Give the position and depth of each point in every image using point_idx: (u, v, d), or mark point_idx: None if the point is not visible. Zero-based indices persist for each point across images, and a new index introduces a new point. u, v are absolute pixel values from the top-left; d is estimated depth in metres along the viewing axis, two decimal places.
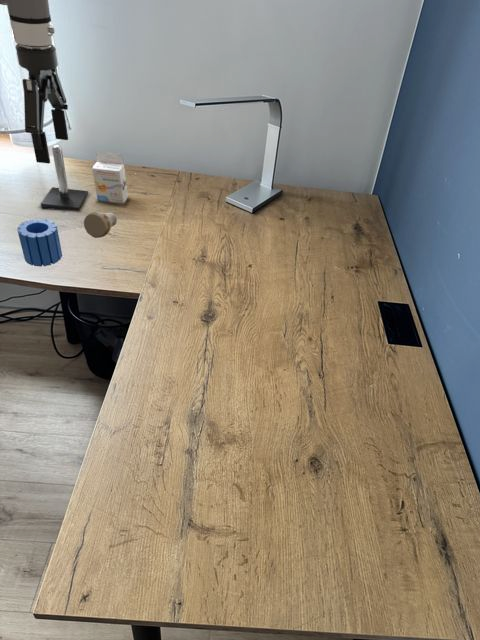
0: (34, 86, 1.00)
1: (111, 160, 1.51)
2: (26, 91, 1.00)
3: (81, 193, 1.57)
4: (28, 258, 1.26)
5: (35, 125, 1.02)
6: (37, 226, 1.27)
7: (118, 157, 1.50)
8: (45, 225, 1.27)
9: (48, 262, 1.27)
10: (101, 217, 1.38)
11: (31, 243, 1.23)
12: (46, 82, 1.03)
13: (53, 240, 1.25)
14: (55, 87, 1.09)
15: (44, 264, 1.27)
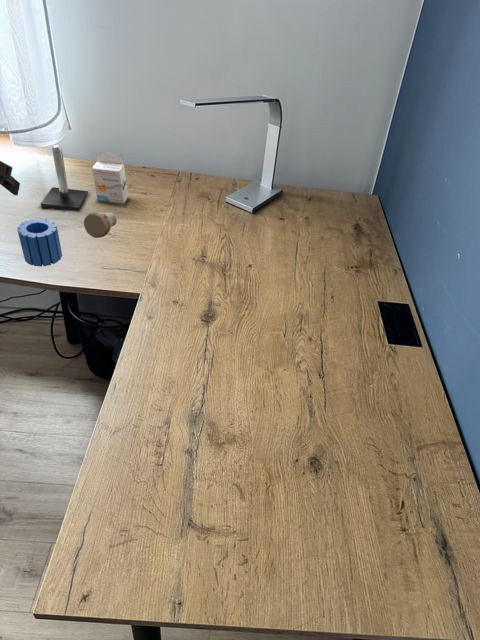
0: None
1: (111, 160, 1.51)
2: None
3: (81, 193, 1.57)
4: (28, 258, 1.26)
5: None
6: (37, 226, 1.27)
7: (118, 157, 1.50)
8: (45, 225, 1.27)
9: (48, 262, 1.27)
10: (101, 217, 1.38)
11: (31, 243, 1.23)
12: None
13: (53, 240, 1.25)
14: None
15: (44, 264, 1.27)
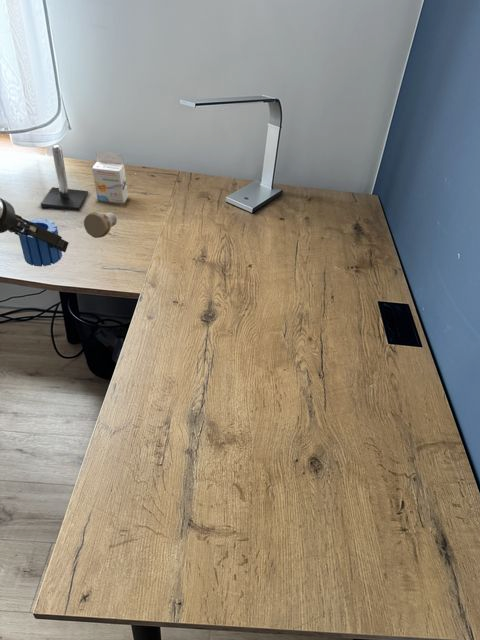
0: None
1: (111, 160, 1.51)
2: None
3: (81, 193, 1.57)
4: (28, 258, 1.26)
5: None
6: None
7: (118, 157, 1.50)
8: (45, 225, 1.27)
9: (48, 262, 1.27)
10: (101, 217, 1.38)
11: (31, 243, 1.23)
12: None
13: None
14: (22, 234, 1.17)
15: (44, 264, 1.27)
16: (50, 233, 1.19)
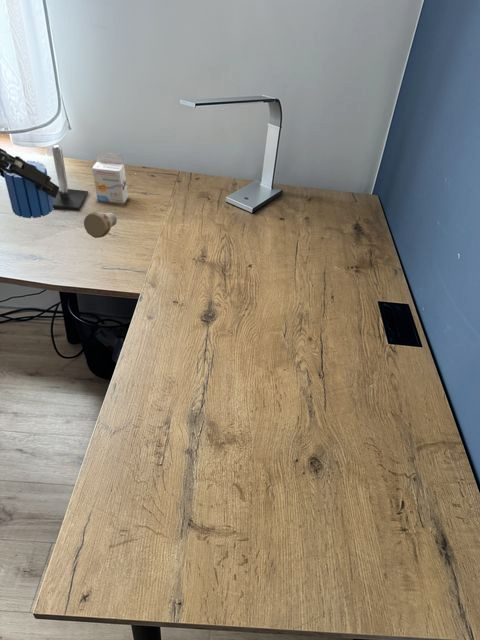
0: None
1: (111, 160, 1.51)
2: None
3: (81, 193, 1.57)
4: (15, 202, 1.16)
5: None
6: None
7: (118, 157, 1.50)
8: None
9: (36, 207, 1.17)
10: (101, 217, 1.38)
11: (18, 184, 1.13)
12: None
13: None
14: (7, 171, 1.07)
15: (32, 209, 1.17)
16: (38, 171, 1.09)
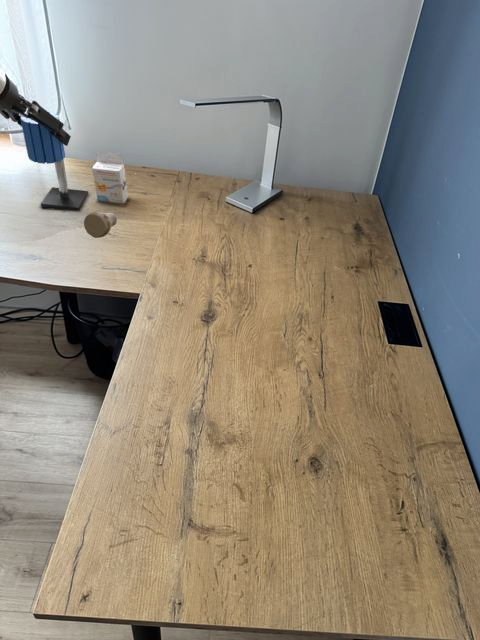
0: None
1: (111, 160, 1.51)
2: None
3: (81, 193, 1.57)
4: (30, 148, 1.28)
5: None
6: None
7: (118, 157, 1.50)
8: None
9: (50, 153, 1.29)
10: (101, 217, 1.38)
11: (33, 130, 1.24)
12: None
13: None
14: (24, 116, 1.19)
15: (46, 155, 1.29)
16: (52, 117, 1.20)
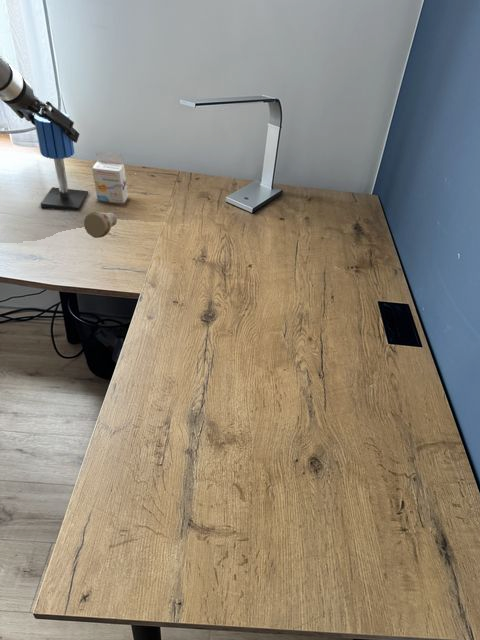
0: None
1: (111, 160, 1.51)
2: None
3: (81, 193, 1.57)
4: (43, 145, 1.40)
5: None
6: None
7: (118, 157, 1.50)
8: None
9: (61, 149, 1.41)
10: (101, 217, 1.38)
11: (46, 128, 1.36)
12: None
13: None
14: (38, 115, 1.31)
15: (57, 151, 1.41)
16: (64, 116, 1.32)
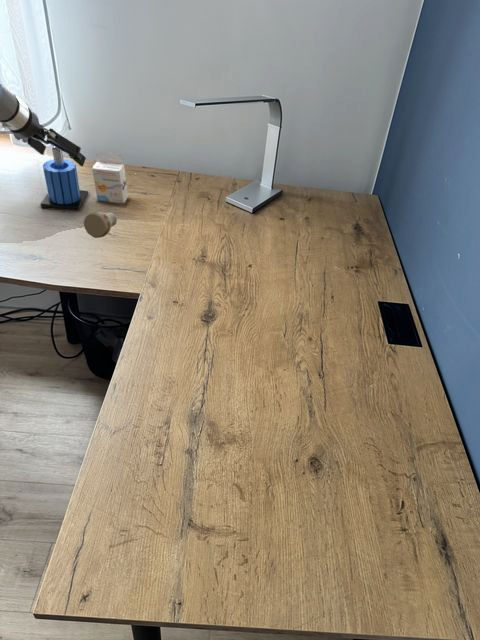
0: None
1: (111, 160, 1.51)
2: None
3: (81, 193, 1.57)
4: (51, 192, 1.49)
5: None
6: None
7: (118, 157, 1.50)
8: (66, 164, 1.49)
9: (68, 195, 1.50)
10: (101, 217, 1.38)
11: (54, 177, 1.45)
12: None
13: (73, 176, 1.48)
14: (44, 142, 1.35)
15: (65, 197, 1.50)
16: (69, 142, 1.36)
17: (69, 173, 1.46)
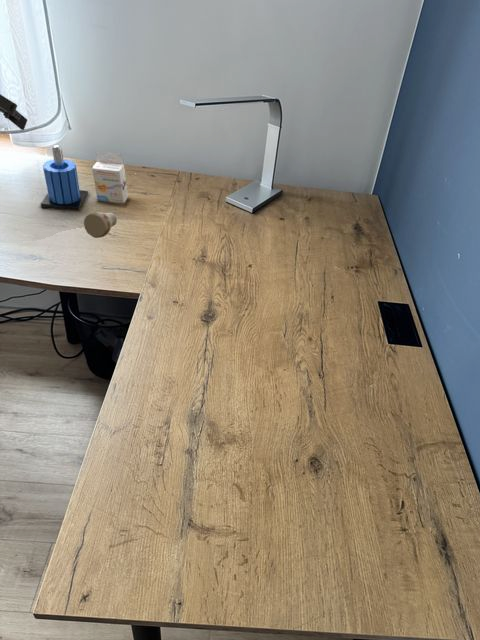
0: None
1: (111, 160, 1.51)
2: None
3: (81, 193, 1.57)
4: (51, 192, 1.49)
5: None
6: None
7: (118, 157, 1.50)
8: (66, 164, 1.49)
9: (68, 195, 1.50)
10: (101, 217, 1.38)
11: (54, 177, 1.45)
12: None
13: (73, 176, 1.48)
14: None
15: (65, 197, 1.50)
16: (1, 96, 1.10)
17: (69, 173, 1.46)
